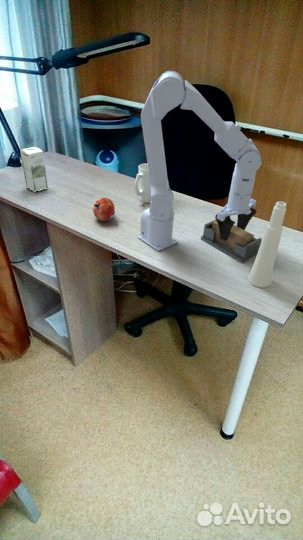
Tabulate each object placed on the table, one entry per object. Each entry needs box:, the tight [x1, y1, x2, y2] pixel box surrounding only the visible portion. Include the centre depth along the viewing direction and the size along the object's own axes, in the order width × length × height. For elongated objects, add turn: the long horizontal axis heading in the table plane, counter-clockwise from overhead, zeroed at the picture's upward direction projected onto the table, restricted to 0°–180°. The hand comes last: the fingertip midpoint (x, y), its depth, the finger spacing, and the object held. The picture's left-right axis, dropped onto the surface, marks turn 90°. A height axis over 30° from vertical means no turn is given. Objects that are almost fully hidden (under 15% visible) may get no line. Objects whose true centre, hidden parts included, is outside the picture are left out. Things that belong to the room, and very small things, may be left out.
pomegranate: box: [92, 197, 116, 223], centre depth 113 cm, size 7×7×10 cm
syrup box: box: [19, 146, 49, 192], centre depth 127 cm, size 6×6×14 cm
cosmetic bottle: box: [247, 201, 287, 289], centre depth 85 cm, size 6×6×22 cm
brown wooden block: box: [212, 220, 255, 249], centre depth 102 cm, size 12×4×5 cm, turn 41°
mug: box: [134, 163, 151, 204], centre depth 123 cm, size 10×7×12 cm, turn 139°
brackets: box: [200, 219, 262, 264], centre depth 103 cm, size 16×8×5 cm, turn 40°
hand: (231, 235), depth 102 cm, fingers open, 7 cm apart
